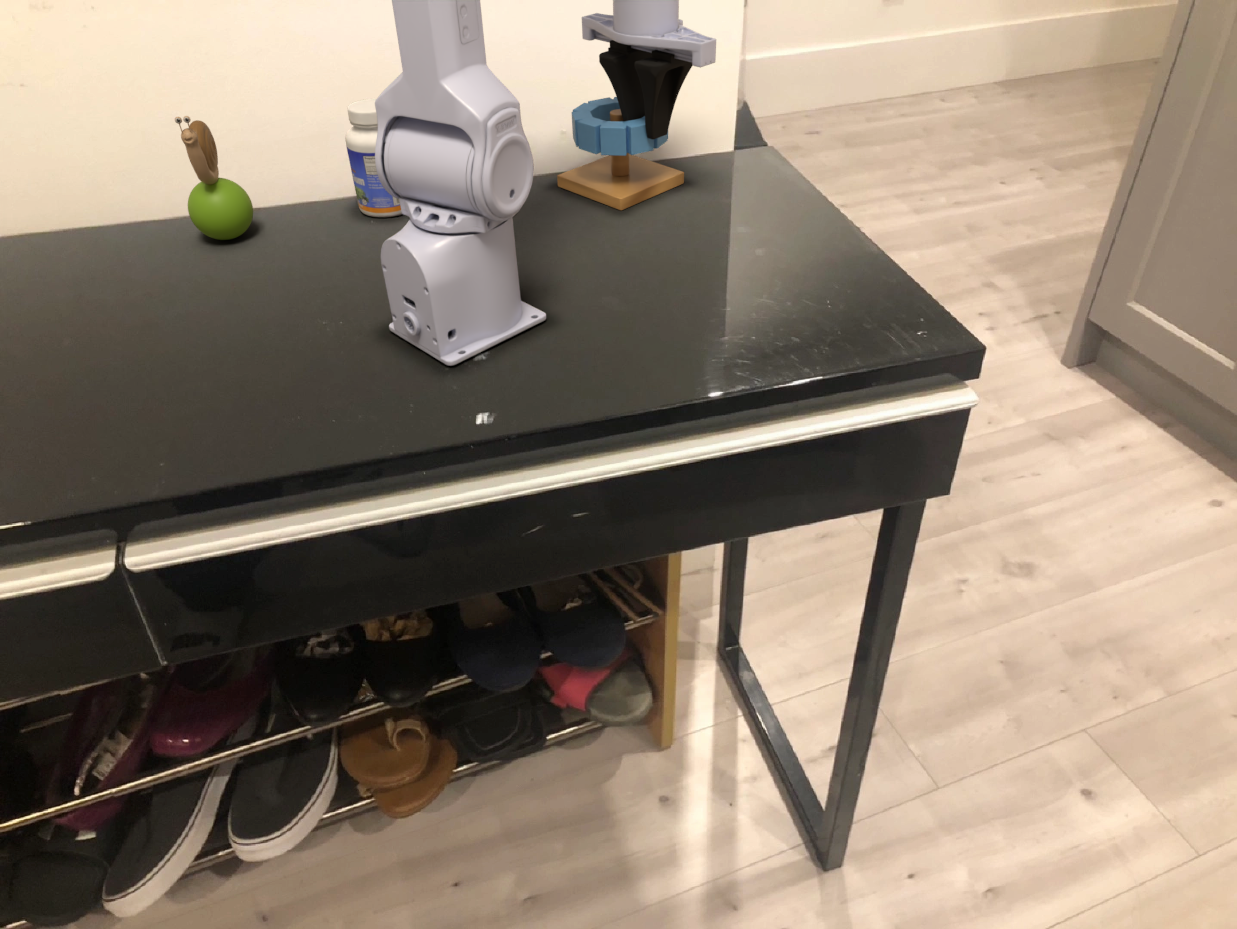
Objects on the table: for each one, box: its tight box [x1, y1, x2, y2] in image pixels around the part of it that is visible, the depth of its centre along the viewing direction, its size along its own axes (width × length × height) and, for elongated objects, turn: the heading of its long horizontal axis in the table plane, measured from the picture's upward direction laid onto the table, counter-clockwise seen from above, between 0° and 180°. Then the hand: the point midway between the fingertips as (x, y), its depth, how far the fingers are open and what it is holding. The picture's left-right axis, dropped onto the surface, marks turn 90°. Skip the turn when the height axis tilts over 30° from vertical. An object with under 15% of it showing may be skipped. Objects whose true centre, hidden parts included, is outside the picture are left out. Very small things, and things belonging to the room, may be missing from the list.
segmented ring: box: [571, 96, 669, 156], centre depth 88 cm, size 9×9×3 cm
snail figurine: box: [174, 115, 254, 241], centre depth 80 cm, size 5×6×12 cm
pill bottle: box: [344, 98, 403, 218], centre depth 86 cm, size 5×5×10 cm
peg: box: [556, 109, 685, 211], centre depth 90 cm, size 9×9×7 cm
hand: (646, 132), depth 86 cm, fingers closed on segmented ring, 2 cm apart
